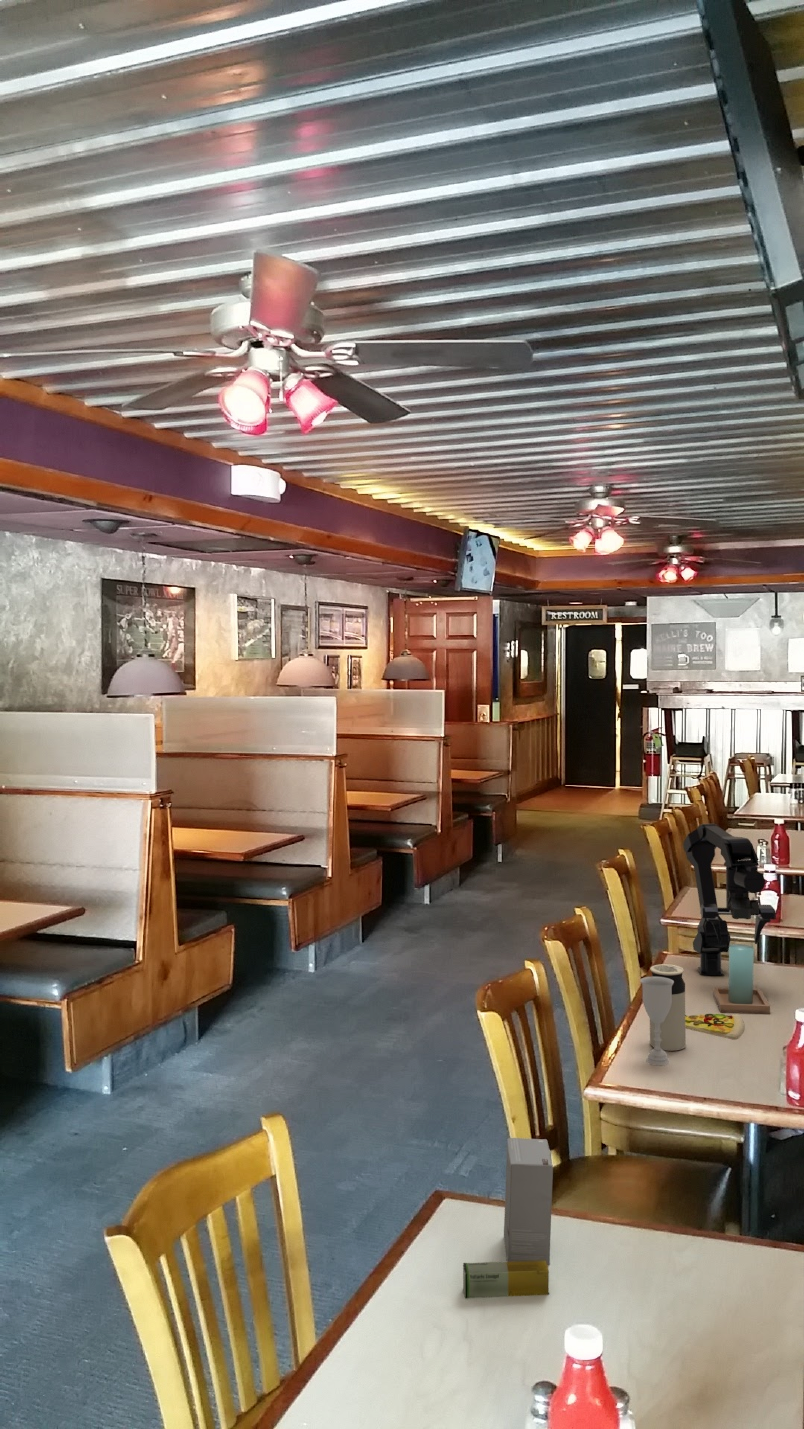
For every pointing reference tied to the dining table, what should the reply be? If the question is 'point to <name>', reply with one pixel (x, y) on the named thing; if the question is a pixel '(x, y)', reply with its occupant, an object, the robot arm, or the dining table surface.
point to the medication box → (505, 1279)
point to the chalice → (657, 1011)
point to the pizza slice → (716, 1024)
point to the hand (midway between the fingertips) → (737, 943)
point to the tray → (726, 1006)
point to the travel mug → (671, 1010)
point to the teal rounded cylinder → (741, 974)
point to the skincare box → (528, 1200)
